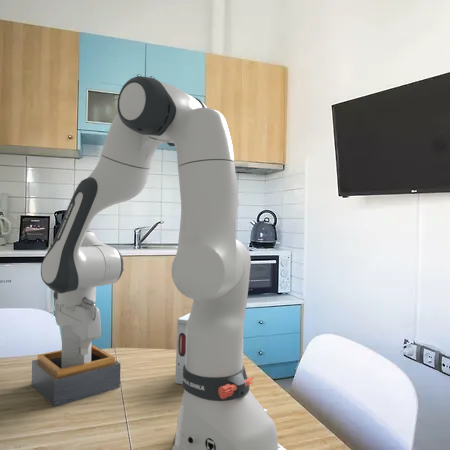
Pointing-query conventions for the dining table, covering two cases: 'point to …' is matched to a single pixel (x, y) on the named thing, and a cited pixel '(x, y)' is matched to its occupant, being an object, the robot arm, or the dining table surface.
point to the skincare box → (72, 349)
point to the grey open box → (74, 376)
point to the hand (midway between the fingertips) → (76, 349)
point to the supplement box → (181, 347)
